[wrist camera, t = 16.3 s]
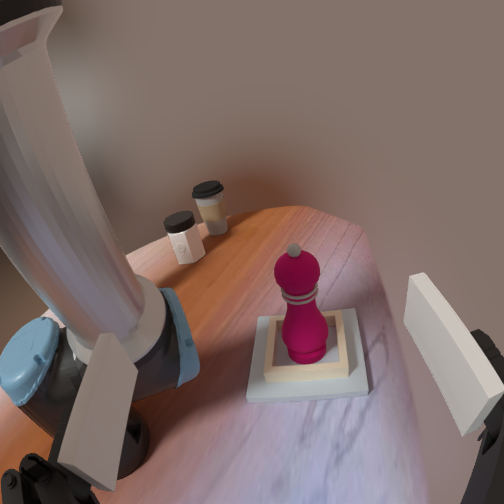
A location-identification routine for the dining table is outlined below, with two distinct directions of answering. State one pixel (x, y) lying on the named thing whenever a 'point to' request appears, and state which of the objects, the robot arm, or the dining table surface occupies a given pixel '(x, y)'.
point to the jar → (184, 237)
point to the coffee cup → (211, 206)
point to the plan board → (311, 375)
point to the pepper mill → (301, 306)
